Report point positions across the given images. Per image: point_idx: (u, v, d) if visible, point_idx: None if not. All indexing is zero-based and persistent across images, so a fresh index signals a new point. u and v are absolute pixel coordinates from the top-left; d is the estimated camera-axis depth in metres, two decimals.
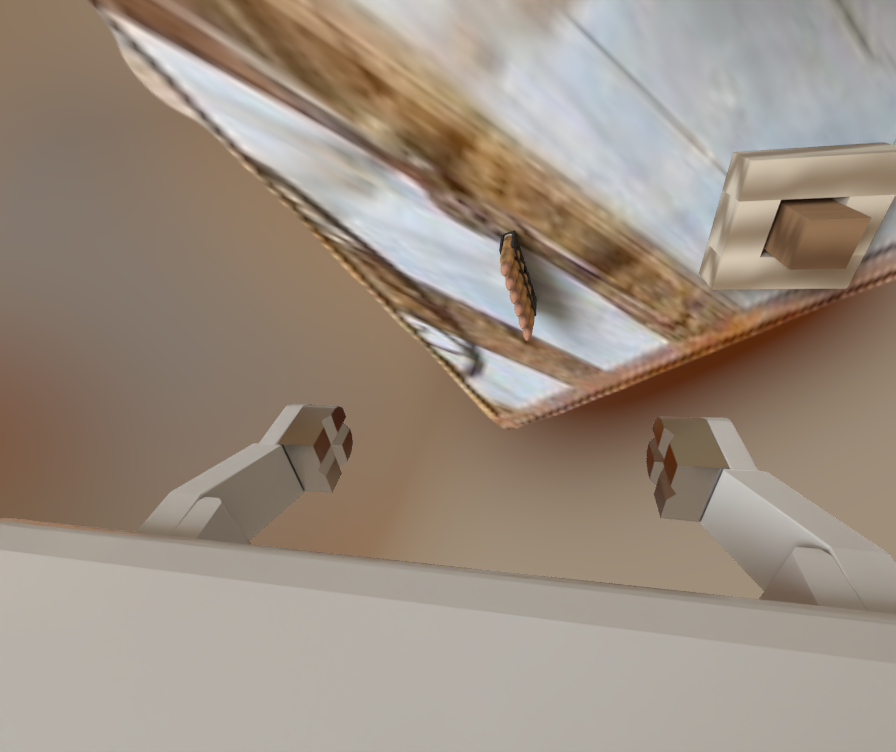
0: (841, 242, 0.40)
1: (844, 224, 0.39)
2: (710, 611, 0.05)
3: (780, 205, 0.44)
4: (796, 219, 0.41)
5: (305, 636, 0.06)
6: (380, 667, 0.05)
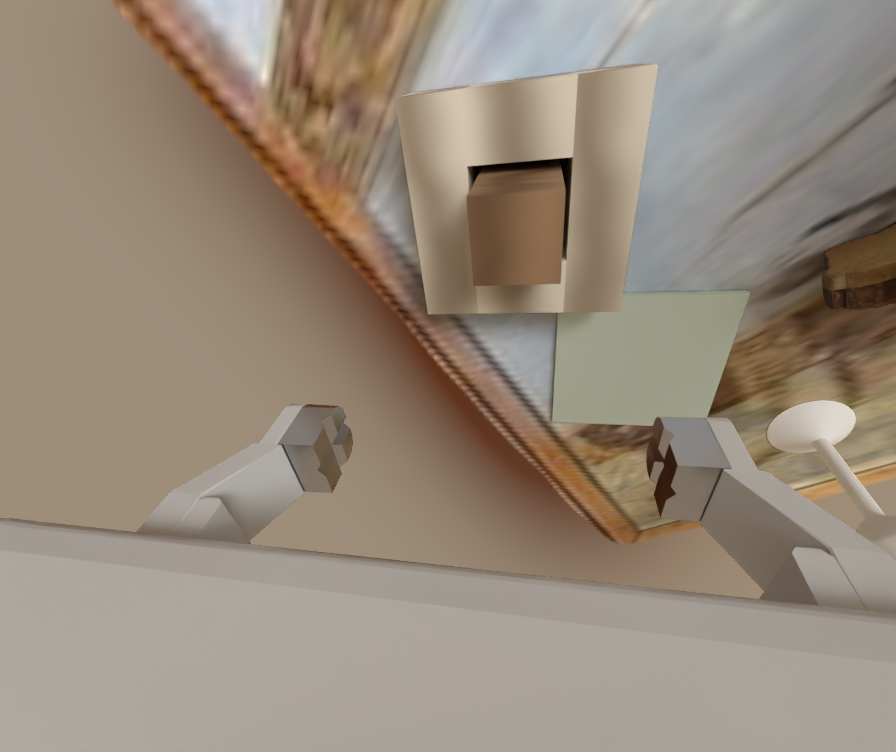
0: (519, 260, 0.23)
1: (551, 250, 0.22)
2: (710, 611, 0.05)
3: (557, 166, 0.25)
4: (552, 181, 0.22)
5: (305, 636, 0.06)
6: (380, 667, 0.05)
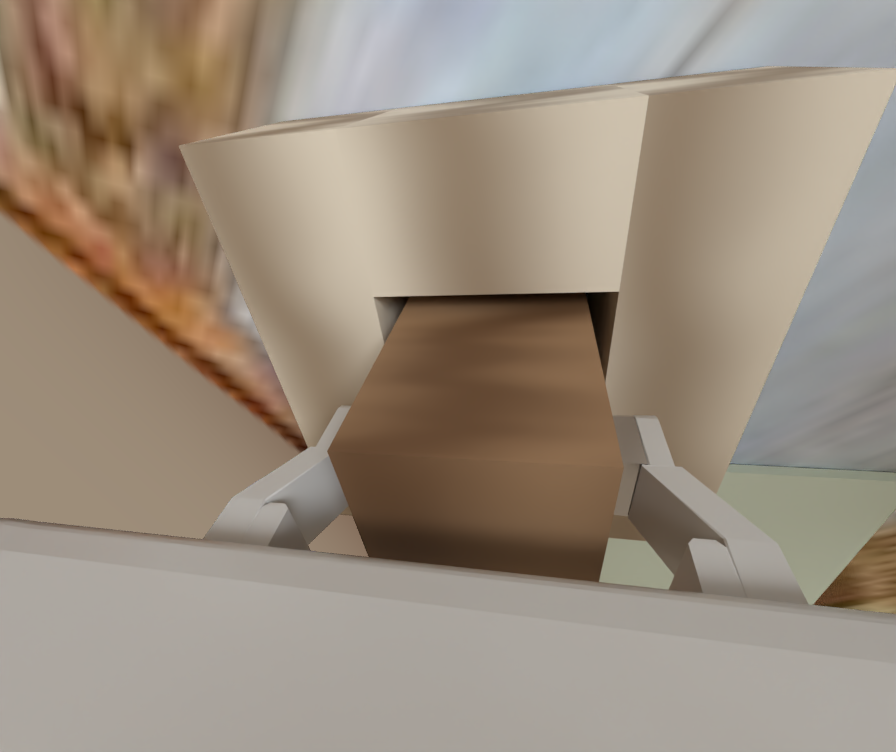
0: None
1: (571, 568, 0.08)
2: (710, 611, 0.05)
3: (577, 298, 0.11)
4: (573, 383, 0.08)
5: (305, 636, 0.06)
6: (379, 667, 0.05)
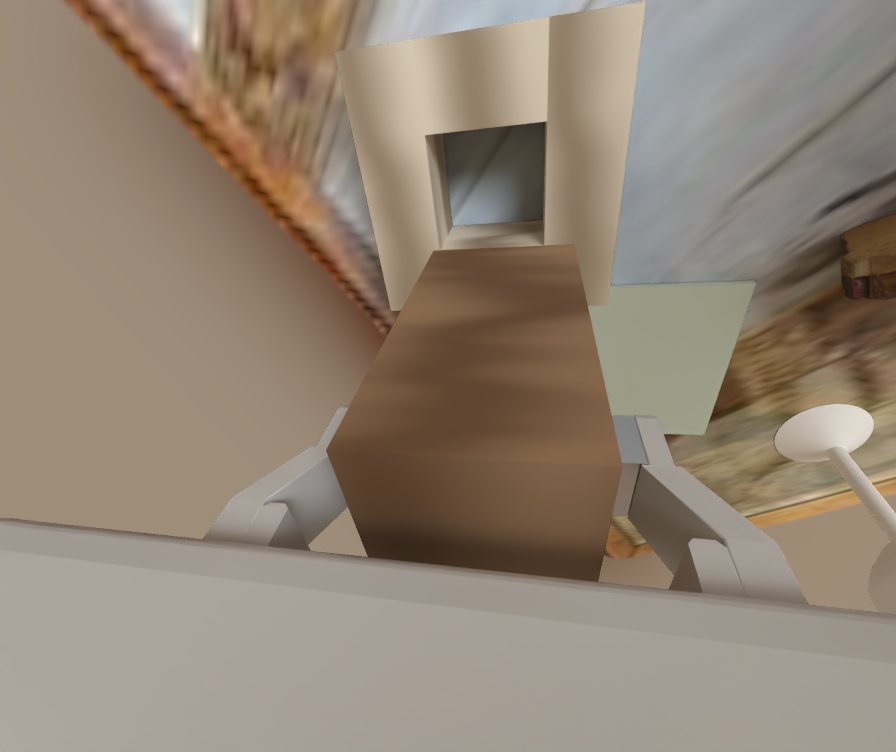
0: None
1: (570, 567, 0.08)
2: (710, 610, 0.05)
3: (577, 297, 0.11)
4: (572, 382, 0.08)
5: (305, 636, 0.06)
6: (380, 667, 0.05)
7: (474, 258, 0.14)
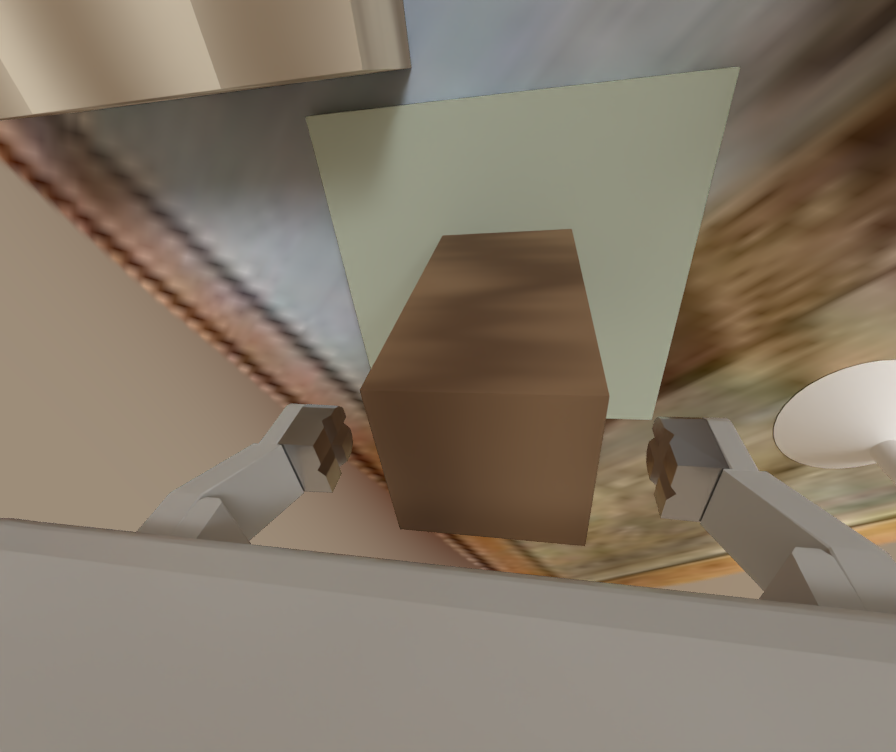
0: (493, 503, 0.10)
1: (567, 497, 0.10)
2: (710, 611, 0.05)
3: (573, 272, 0.12)
4: (569, 337, 0.10)
5: (305, 636, 0.06)
6: (379, 667, 0.05)
7: (480, 242, 0.15)
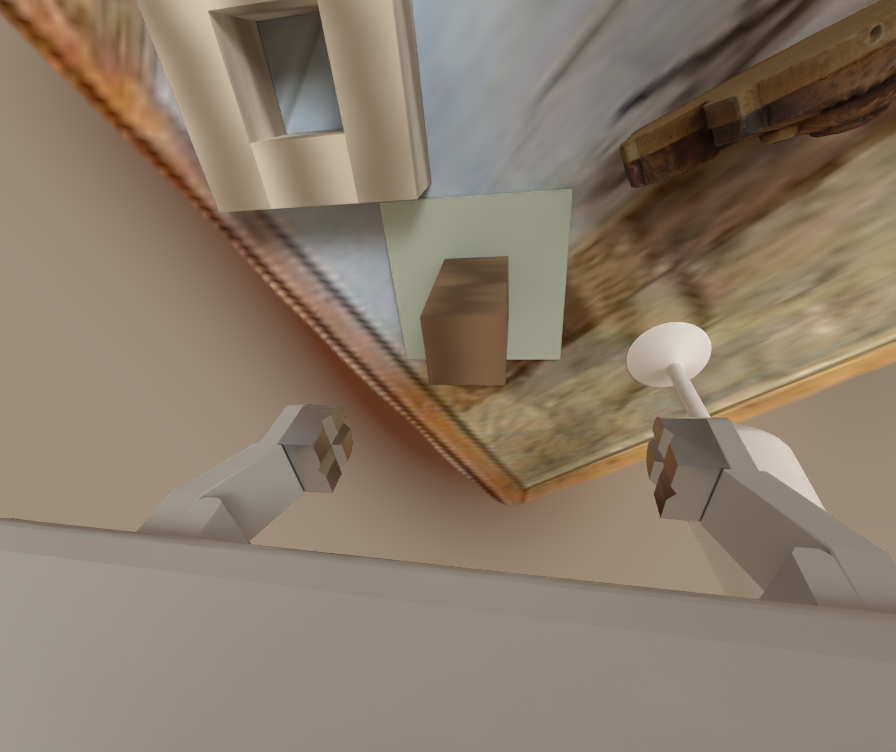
0: (468, 366, 0.26)
1: (495, 360, 0.26)
2: (710, 611, 0.05)
3: (503, 276, 0.29)
4: (495, 300, 0.26)
5: (305, 636, 0.06)
6: (379, 667, 0.05)
7: (463, 262, 0.32)
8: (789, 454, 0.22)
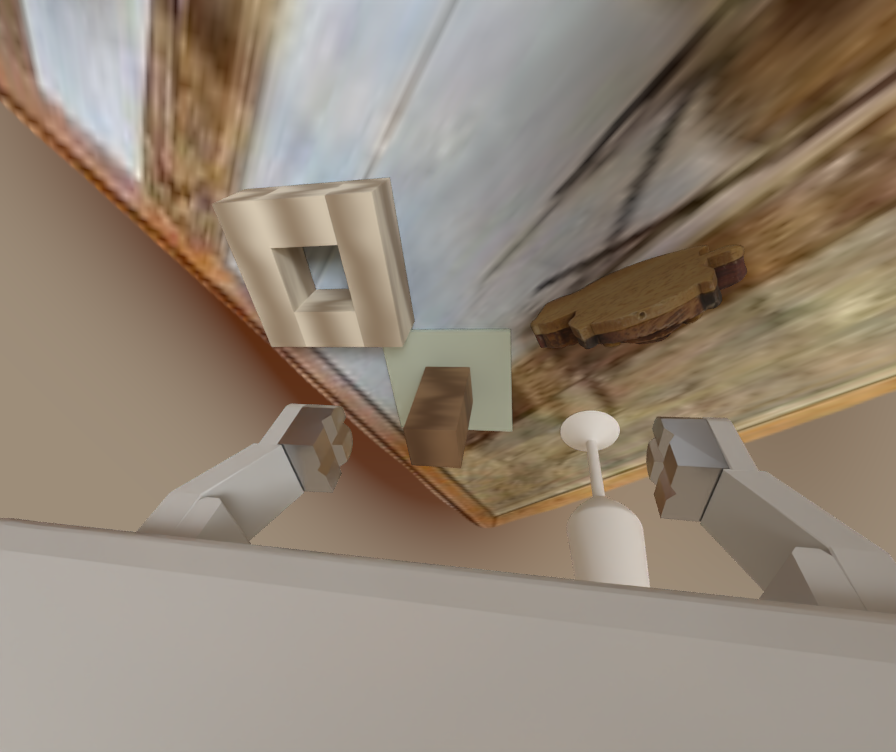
0: (436, 456, 0.40)
1: (453, 453, 0.39)
2: (710, 611, 0.05)
3: (462, 390, 0.42)
4: (453, 415, 0.39)
5: (305, 636, 0.06)
6: (380, 666, 0.05)
7: (438, 372, 0.45)
8: (632, 524, 0.36)
